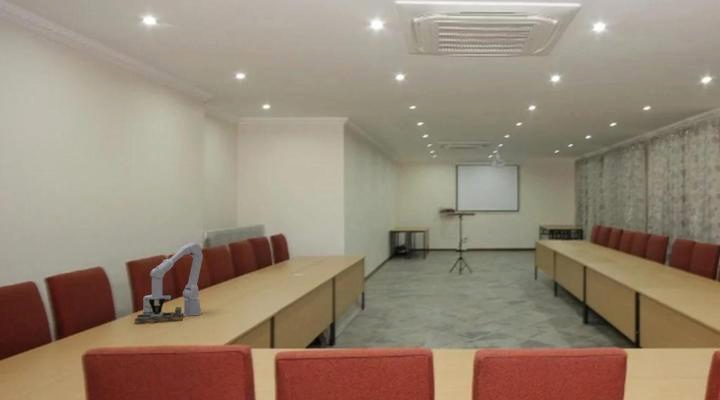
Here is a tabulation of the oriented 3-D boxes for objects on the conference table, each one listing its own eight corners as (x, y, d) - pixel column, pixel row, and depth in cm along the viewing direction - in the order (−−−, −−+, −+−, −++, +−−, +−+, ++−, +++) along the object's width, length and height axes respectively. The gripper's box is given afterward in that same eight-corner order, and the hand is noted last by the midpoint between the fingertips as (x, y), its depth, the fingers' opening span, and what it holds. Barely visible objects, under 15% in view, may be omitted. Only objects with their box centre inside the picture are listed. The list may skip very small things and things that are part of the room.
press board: (183, 315, 275) (183, 305, 275) (182, 320, 263) (182, 310, 263) (138, 319, 267) (138, 309, 267) (134, 324, 255) (134, 313, 255)
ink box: (150, 316, 274) (150, 297, 274) (142, 316, 275) (142, 296, 275) (159, 313, 282) (159, 294, 282) (152, 313, 283) (152, 294, 283)
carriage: (164, 315, 269) (164, 304, 269) (163, 318, 263) (163, 306, 263) (152, 316, 267) (152, 304, 267) (150, 319, 260) (150, 307, 261)
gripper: (142, 290, 259) (142, 314, 259) (169, 289, 263) (169, 312, 263) (144, 288, 266) (144, 312, 265) (170, 287, 270) (170, 310, 270)
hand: (157, 312), depth 265 cm, fingers closed on carriage, 3 cm apart
